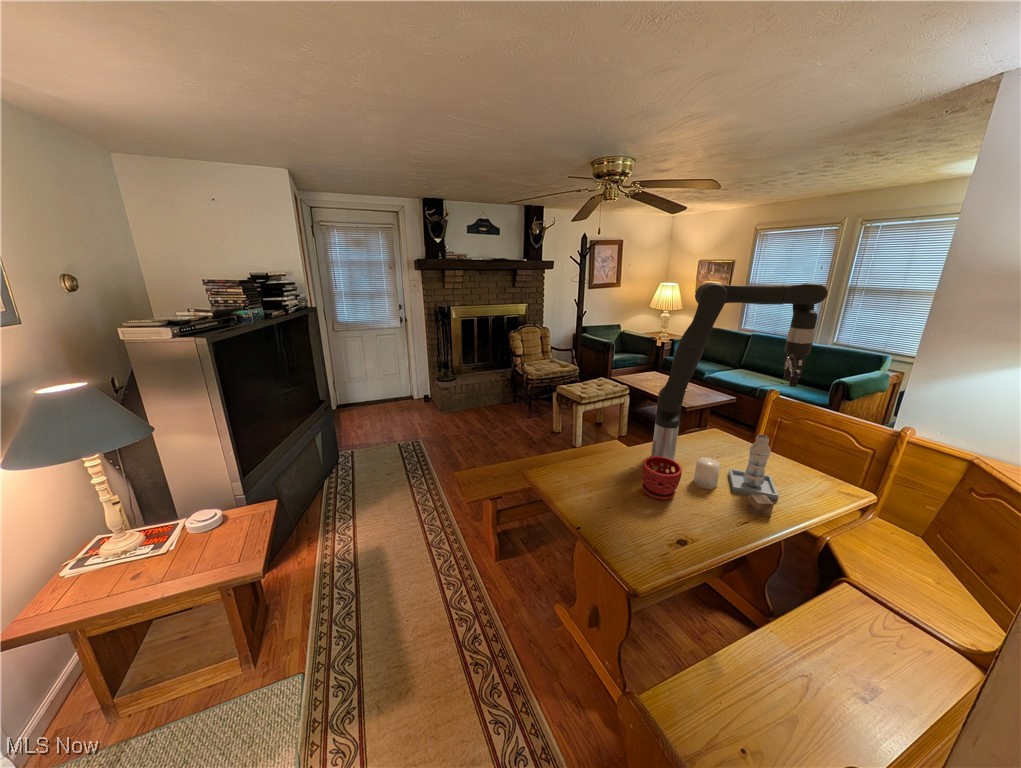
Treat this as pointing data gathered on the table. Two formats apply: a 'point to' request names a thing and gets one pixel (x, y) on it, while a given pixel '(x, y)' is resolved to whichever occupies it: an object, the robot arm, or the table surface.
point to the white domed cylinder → (706, 473)
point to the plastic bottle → (757, 462)
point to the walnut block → (760, 505)
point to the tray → (743, 488)
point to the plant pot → (660, 477)
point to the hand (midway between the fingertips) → (789, 383)
